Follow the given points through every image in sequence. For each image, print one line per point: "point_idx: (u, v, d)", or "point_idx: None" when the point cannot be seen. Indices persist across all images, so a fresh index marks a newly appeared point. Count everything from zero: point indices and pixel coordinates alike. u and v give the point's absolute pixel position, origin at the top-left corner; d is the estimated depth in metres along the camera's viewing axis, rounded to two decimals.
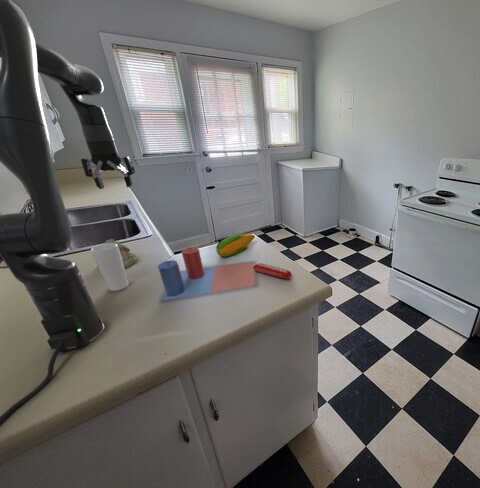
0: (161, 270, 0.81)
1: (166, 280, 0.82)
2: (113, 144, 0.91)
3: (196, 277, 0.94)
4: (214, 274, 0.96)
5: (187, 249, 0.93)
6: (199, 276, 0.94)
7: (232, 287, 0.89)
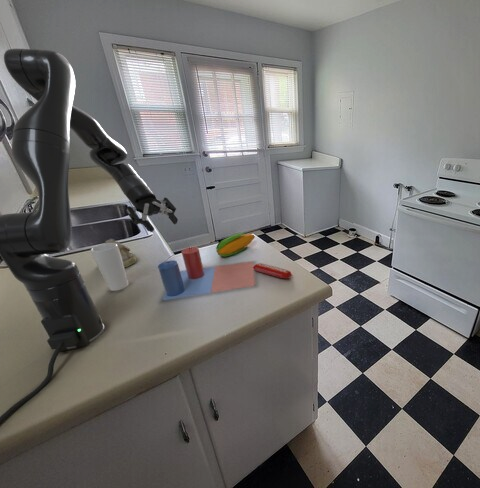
0: (161, 270, 0.81)
1: (166, 280, 0.82)
2: None
3: (196, 277, 0.94)
4: (214, 274, 0.96)
5: (187, 249, 0.93)
6: (199, 276, 0.94)
7: (232, 287, 0.89)
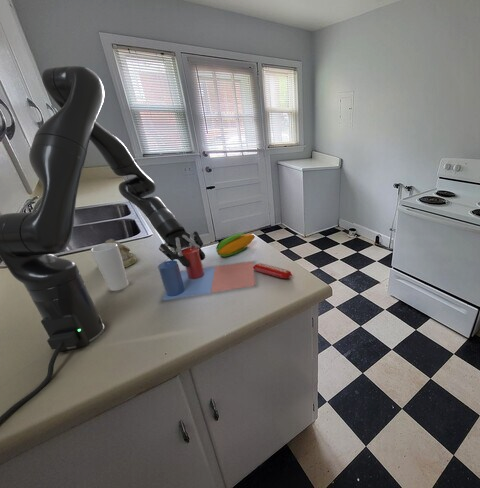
0: (161, 270, 0.81)
1: (166, 280, 0.82)
2: None
3: (196, 277, 0.94)
4: (214, 274, 0.96)
5: (187, 249, 0.93)
6: (199, 276, 0.94)
7: (232, 287, 0.89)
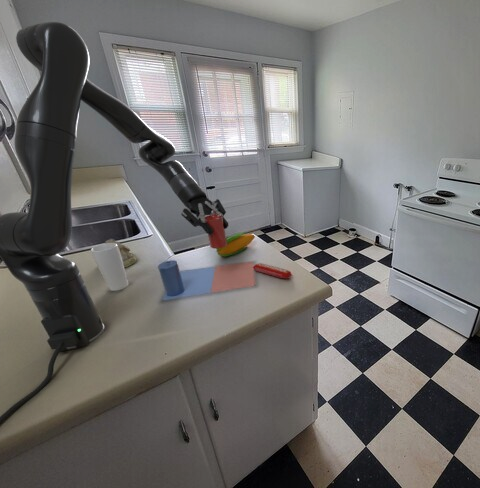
0: (161, 270, 0.81)
1: (166, 280, 0.82)
2: None
3: (219, 246, 0.89)
4: (214, 274, 0.96)
5: (210, 216, 0.88)
6: (222, 245, 0.89)
7: (232, 287, 0.89)
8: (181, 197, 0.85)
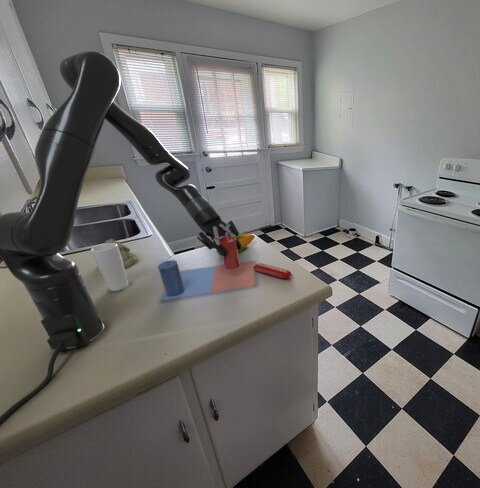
0: (161, 270, 0.81)
1: (166, 280, 0.82)
2: None
3: (233, 267, 0.92)
4: (214, 274, 0.96)
5: (224, 238, 0.91)
6: (236, 266, 0.92)
7: (232, 287, 0.89)
8: (197, 220, 0.88)
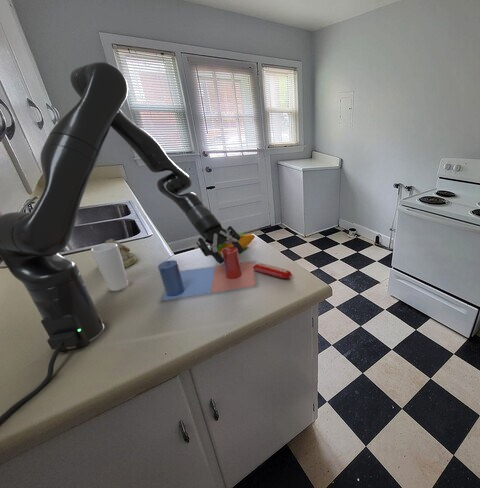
0: (161, 270, 0.81)
1: (166, 280, 0.82)
2: None
3: (235, 277, 0.94)
4: (214, 274, 0.96)
5: (226, 249, 0.92)
6: (237, 276, 0.94)
7: (232, 287, 0.89)
8: (198, 228, 0.90)
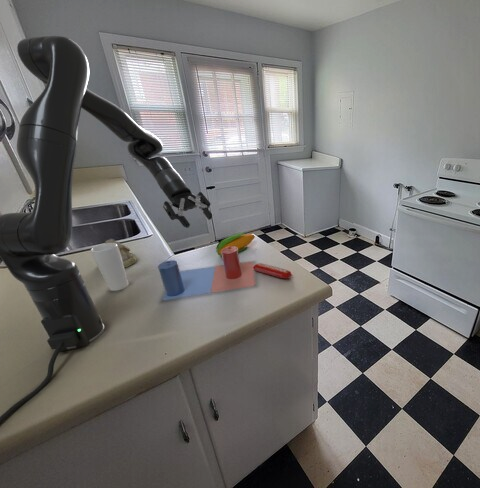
0: (161, 270, 0.81)
1: (166, 280, 0.82)
2: None
3: (235, 277, 0.94)
4: (214, 274, 0.96)
5: (226, 249, 0.92)
6: (237, 276, 0.94)
7: (232, 287, 0.89)
8: (165, 192, 0.91)
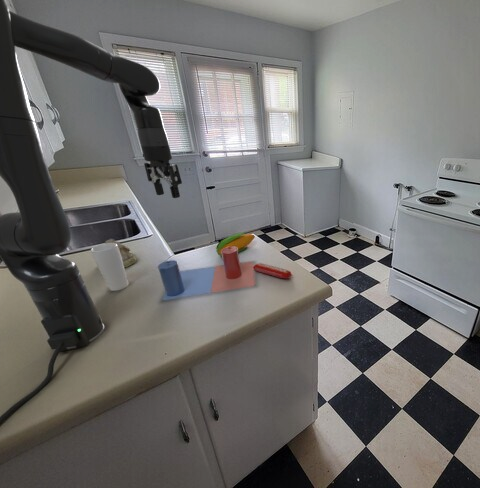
0: (161, 270, 0.81)
1: (166, 280, 0.82)
2: (162, 150, 0.81)
3: (235, 277, 0.94)
4: (214, 274, 0.96)
5: (226, 249, 0.92)
6: (237, 276, 0.94)
7: (232, 287, 0.89)
8: None
